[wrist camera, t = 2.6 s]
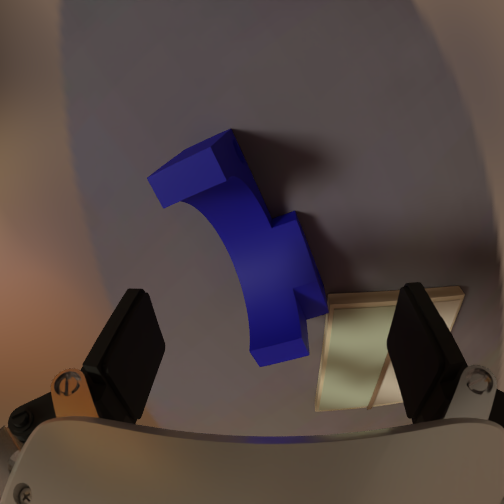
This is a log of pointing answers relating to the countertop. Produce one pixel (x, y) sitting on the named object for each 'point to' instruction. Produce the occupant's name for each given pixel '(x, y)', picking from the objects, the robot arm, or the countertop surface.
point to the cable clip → (250, 244)
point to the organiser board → (366, 347)
